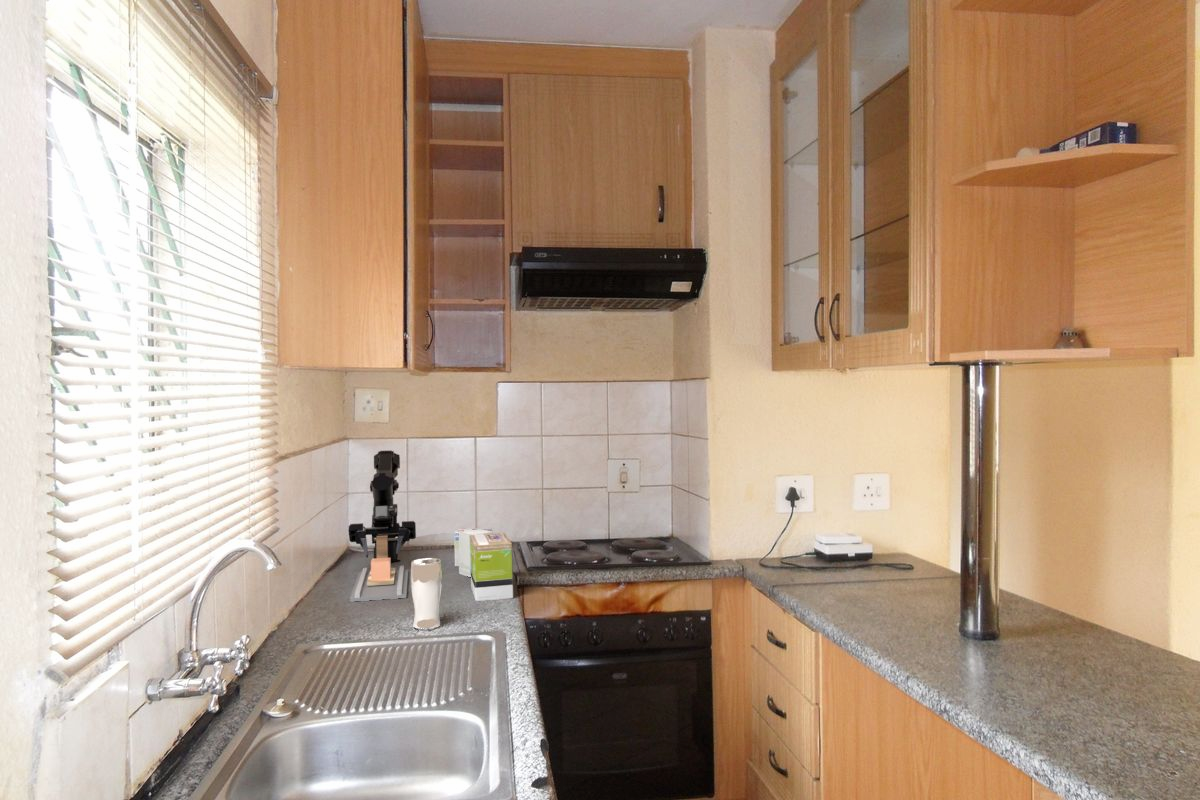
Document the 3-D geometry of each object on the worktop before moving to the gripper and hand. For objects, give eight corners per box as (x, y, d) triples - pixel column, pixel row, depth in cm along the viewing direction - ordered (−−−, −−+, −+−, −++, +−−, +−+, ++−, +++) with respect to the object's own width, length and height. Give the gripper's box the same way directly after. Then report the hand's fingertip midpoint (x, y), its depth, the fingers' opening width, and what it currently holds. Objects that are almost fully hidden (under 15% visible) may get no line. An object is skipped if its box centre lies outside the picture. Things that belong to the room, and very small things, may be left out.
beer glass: (415, 622, 180) (414, 557, 180) (445, 622, 180) (444, 557, 180) (407, 631, 174) (406, 564, 173) (438, 631, 173) (437, 564, 173)
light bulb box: (493, 562, 244) (492, 527, 244) (488, 567, 237) (487, 531, 237) (459, 561, 245) (459, 527, 245) (453, 566, 238) (453, 531, 238)
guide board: (358, 575, 228) (358, 568, 228) (408, 572, 231) (408, 565, 231) (349, 602, 199) (349, 593, 199) (406, 598, 202) (406, 589, 202)
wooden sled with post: (370, 572, 226) (370, 534, 226) (395, 571, 227) (395, 533, 227) (367, 585, 210) (366, 545, 210) (393, 584, 212) (393, 543, 212)
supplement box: (471, 578, 223) (471, 534, 223) (458, 574, 228) (457, 531, 228) (493, 574, 228) (493, 531, 228) (479, 570, 233) (479, 528, 233)
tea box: (469, 588, 212) (468, 533, 212) (506, 585, 215) (505, 531, 214) (474, 602, 197) (473, 544, 197) (514, 599, 200) (513, 541, 200)
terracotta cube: (372, 576, 217) (372, 558, 217) (390, 575, 218) (390, 557, 218) (371, 580, 212) (370, 562, 212) (390, 579, 213) (389, 561, 213)
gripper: (348, 496, 224) (345, 541, 213) (415, 493, 228) (415, 537, 218) (351, 519, 232) (348, 563, 221) (415, 516, 236) (415, 560, 225)
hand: (382, 555), depth 221 cm, fingers open, 8 cm apart
